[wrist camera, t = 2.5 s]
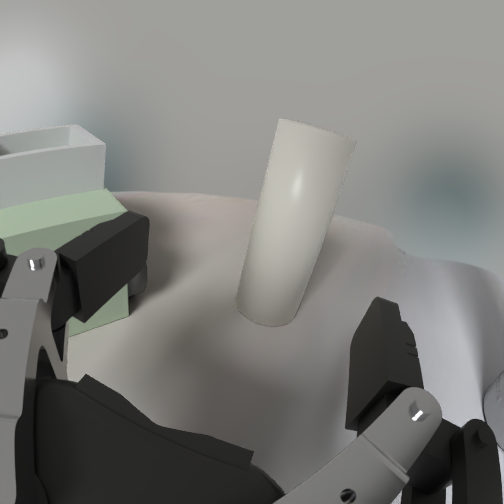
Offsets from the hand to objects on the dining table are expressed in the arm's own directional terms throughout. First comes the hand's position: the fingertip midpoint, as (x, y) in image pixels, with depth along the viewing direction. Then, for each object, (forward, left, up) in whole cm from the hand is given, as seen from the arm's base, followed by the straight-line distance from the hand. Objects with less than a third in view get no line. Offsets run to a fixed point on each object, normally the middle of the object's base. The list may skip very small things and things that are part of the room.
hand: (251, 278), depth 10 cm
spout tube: (+5, -10, -10) cm, 15 cm away
